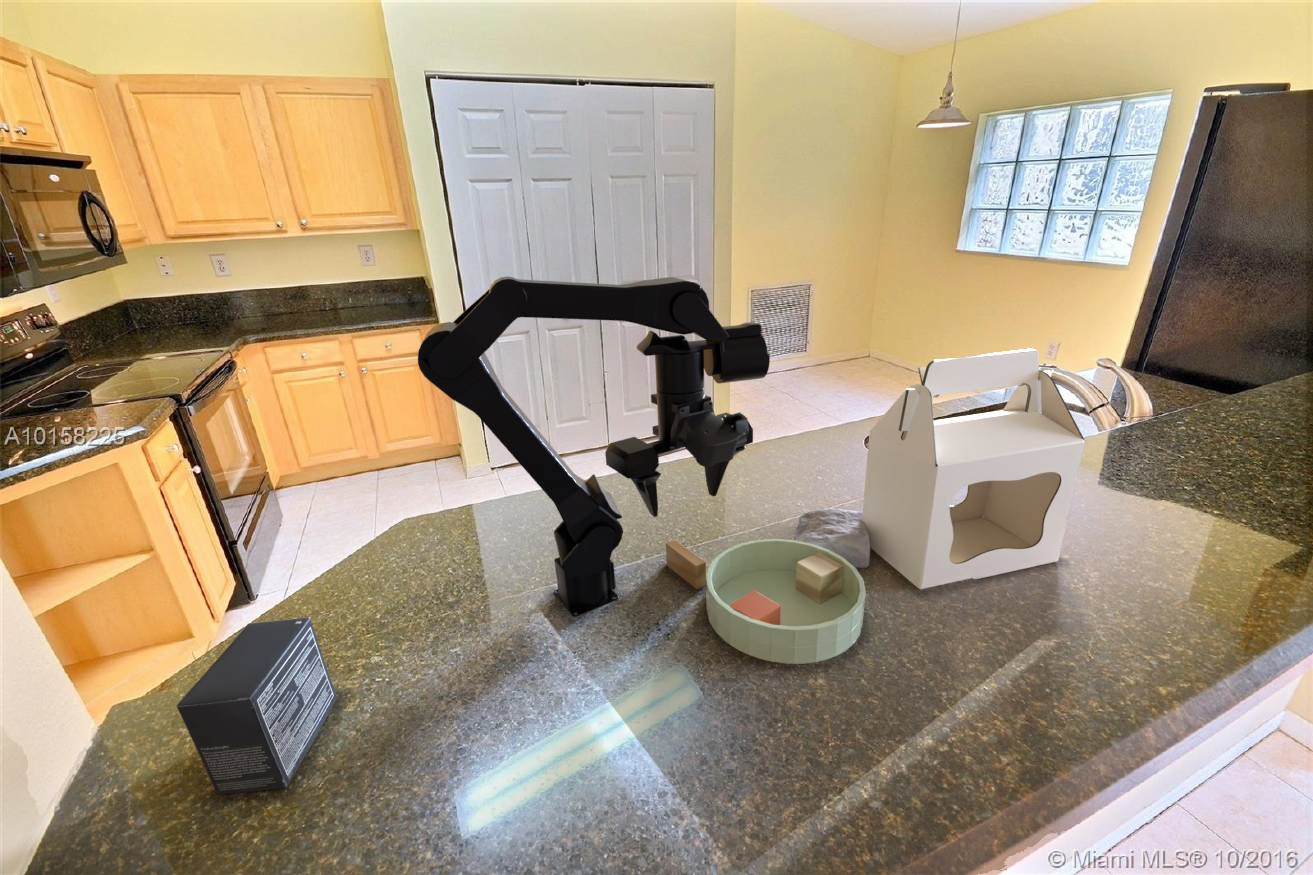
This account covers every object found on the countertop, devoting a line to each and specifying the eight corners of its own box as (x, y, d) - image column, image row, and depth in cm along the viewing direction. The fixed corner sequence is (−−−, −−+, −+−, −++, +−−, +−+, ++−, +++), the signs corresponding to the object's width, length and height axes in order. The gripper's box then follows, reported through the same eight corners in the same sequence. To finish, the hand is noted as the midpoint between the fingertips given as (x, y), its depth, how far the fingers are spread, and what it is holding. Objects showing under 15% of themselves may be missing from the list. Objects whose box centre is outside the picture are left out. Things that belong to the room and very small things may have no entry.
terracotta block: (756, 651, 63) (756, 621, 62) (729, 633, 66) (729, 604, 65) (779, 635, 65) (781, 605, 64) (753, 618, 68) (754, 589, 67)
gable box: (984, 517, 89) (1015, 337, 80) (1060, 561, 77) (1107, 356, 68) (857, 541, 84) (873, 353, 75) (917, 593, 72) (946, 376, 63)
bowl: (780, 694, 58) (782, 654, 56) (677, 603, 73) (676, 569, 71) (895, 624, 67) (899, 588, 65) (783, 556, 82) (784, 525, 80)
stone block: (801, 580, 79) (877, 570, 76) (793, 549, 78) (870, 538, 75) (798, 538, 90) (865, 527, 87) (792, 510, 89) (859, 499, 86)
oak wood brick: (696, 592, 75) (696, 566, 73) (666, 568, 80) (665, 543, 79) (706, 588, 75) (706, 562, 74) (676, 564, 81) (675, 539, 79)
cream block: (819, 604, 70) (821, 576, 69) (795, 589, 73) (796, 562, 72) (841, 593, 72) (844, 565, 71) (817, 578, 75) (819, 551, 74)
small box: (275, 703, 60) (246, 620, 56) (340, 697, 60) (315, 614, 57) (210, 797, 50) (169, 704, 46) (288, 789, 50) (253, 696, 47)
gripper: (650, 421, 57) (657, 556, 63) (786, 387, 67) (782, 507, 72) (598, 397, 66) (608, 517, 72) (725, 369, 75) (725, 478, 81)
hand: (684, 505), depth 74 cm, fingers open, 9 cm apart
